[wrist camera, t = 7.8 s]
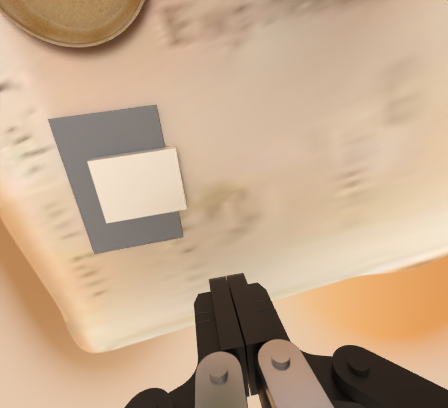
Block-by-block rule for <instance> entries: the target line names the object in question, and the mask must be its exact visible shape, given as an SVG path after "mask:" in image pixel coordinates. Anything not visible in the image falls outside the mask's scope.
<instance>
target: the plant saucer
mask: <svg viewBox="0 0 448 408" xmlns="http://www.w3.org/2000/svg"><path fill="white" fill-rule="evenodd" d="M144 1H145V0H0V12H1V13H2V14H3V15H4V16H5V17H6V18H7V19H8V20H10V21H11V22H12V23H14V24H15V25H16V26H18V27H19V28H20V29H22V30H24V31H25V32H27V33H29V34H31V35H33V36H35V37H36V38H39V39H41V40H43V41H46V42H48V43H52V44H55V45H59V46H65V47H90V46H95V45H99V44H102V43H105V42H107V41H109V40H111V39H113V38H115V37H116V36H118V35H119V34H121V33H122V32H123V31H124V30H125V29H126V28H128V26H129V25H130V24H131V23H132V22H133V21H134V19H135V18H136V17H137V15H138V13H139V12H140V10H141V8H142V6H143V3H144Z"/></svg>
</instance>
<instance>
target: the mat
mask: <svg viewBox="0 0 448 408" xmlns="http://www.w3.org/2000/svg"><path fill="white" fill-rule="evenodd" d="M48 121H49V124H50V127H51V130H52V133H53V136H54V138H55V141H56V144H57V147H58V150H59V153H60V156H61V159H62V162H63V164H64V167H65V170H66V173H67V176H68V179H69V182H70V185H71V188H72V190H73V193H74V196H75V199H76V202H77V205H78V208H79V211H80V214H81V216H82V219H83V222H84V225H85V228H86V231H87V234H88V237H89V240H90V243H91V245H92V248H93V251H94V254H97V253H102V252H108V251H113V250H118V249H123V248H129V247H134V246H139V245H145V244H150V243H155V242H160V241H166V240H171V239H176V238H181V237H183V233H182V228H181V223H180V218H179V213H178V211H175V212H169V213H163V214H158V215H152V216H146V217H141V218H135V219H129V220H123V221H118V222H112V223H106V221H105V218H104V214H103V211H102V208H101V205H100V202H99V198H98V195H97V192H96V189H95V185H94V182H93V179H92V176H91V173H90V169H89V166H88V163H87V161H89V160H91V159H92V158H97V157H104V156H111V155H117V154H124V153H131V152H137V151H144V150H151V149H157V148H164V147H165V145H164V140H163V135H162V130H161V125H160V120H159V115H158V110H157V106H156V105H152V106H144V107H137V108H129V109H122V110H114V111H107V112H100V113H92V114H85V115H77V116H70V117H62V118H55V119H48Z"/></svg>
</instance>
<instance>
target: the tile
mask: <svg viewBox="0 0 448 408" xmlns="http://www.w3.org/2000/svg"><path fill="white" fill-rule="evenodd" d="M87 163H88V166H89V169H90V173H91V176H92V179H93V182H94V185H95V189H96V192H97V195H98V198H99V202H100V205H101V208H102V211H103V214H104V218H105V221H106V223H112V222H118V221H123V220H129V219H135V218H141V217H146V216H152V215H158V214H163V213H169V212H175V211H180V210H186V209H187V205H186V199H185V194H184V188H183V183H182V178H181V172H180V167H179V162H178V156H177V151H176V146H171V147H164V148H157V149H151V150H144V151H137V152H131V153H124V154H117V155H111V156H104V157H97V158H92V159H91V160H89V161H87Z"/></svg>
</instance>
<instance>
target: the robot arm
mask: <svg viewBox="0 0 448 408" xmlns="http://www.w3.org/2000/svg"><path fill="white" fill-rule="evenodd" d="M209 284H210V291H211V292H206V293H201V294H198V296H197V298H196V300H195V303H194V310H195V323H196V336H197V348H198V365H197V368H196V370H195V372H194V374H193V375H192V377H191V378H190V379H189V380H188V381H187V382H186V383H184V384H183V385H181V386H180V387H178V388H177V389H175V390H173V391H171V392H169V393H167V392H166V391H164V390H162V389H159V388H150V389H147V390H144V391H142V392H140V393H139V394H137V395H136V396H135V397H133V398H132V399H131V401H130V402H129V403H128V404H127V405H126V407H125V408H248V404H247V397H248V396H249V388H250V392H251V395H256V394H258V395H259V398H260V402H261V406H262V408H448V390H447V389H445V388H443V387H441V386H438V385H436V384H434V383H433V382H431V381H428V380H426V379H424V378H423V377H421V376H419V375H417V374H414V373H413V372H410V371H409V370H407V369H405V368H402V367H401V366H399V365H397V364H394V363H393V362H390V361H389V360H386V359H384V358H382V357H380V356H378V355H376V354H374V353H372V352H370V351H368V350H366V349H364V348H362V347H359V346H354V345H345V346H342V347H340V348H338V349H337V350H336V351H335V352H334V354H333V357H331V356H320V355H312V354H308V353H305V352H303V351H301V350H300V349H299V348H298V347H297V346H296V345H294V344H293V343H292V342H291V341H290V339H289V338H288V336H287V333H286V332H285V329H284V327H283V325H282V323H281V321H280V319H279V317H278V314H277V312H276V310H275V309H274V306H273V304H272V301H271V300H270V297H269V295H268V293H267V291H266V289H265V288H263V287H262V286H261V285H260V284H259V283H253V284H247V281H246V279H245V276H244V274H243V273H240V274H234V275H229V276H227V280H226V277H225V276H224V277H219V278H213V279H209ZM248 384H249V388H248Z"/></svg>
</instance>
